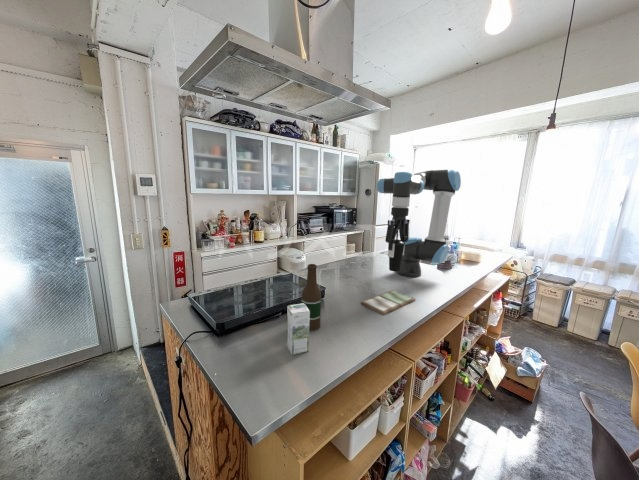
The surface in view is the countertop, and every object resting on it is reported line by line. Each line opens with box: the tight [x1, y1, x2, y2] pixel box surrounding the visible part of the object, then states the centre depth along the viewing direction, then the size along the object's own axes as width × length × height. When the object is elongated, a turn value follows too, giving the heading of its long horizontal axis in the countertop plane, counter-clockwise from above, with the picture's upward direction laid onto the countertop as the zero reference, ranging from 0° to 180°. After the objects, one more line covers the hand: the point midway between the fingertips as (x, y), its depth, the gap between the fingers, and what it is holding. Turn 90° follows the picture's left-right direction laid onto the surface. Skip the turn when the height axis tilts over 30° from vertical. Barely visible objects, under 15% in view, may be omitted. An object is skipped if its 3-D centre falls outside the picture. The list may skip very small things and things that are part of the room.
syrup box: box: [286, 303, 310, 356], centre depth 80 cm, size 6×6×14 cm
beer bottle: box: [300, 263, 322, 331], centre depth 93 cm, size 8×8×24 cm
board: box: [360, 289, 416, 316], centre depth 118 cm, size 24×13×1 cm, turn 129°
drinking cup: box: [388, 230, 405, 273], centre depth 118 cm, size 8×8×20 cm
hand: (395, 255), depth 119 cm, fingers closed on drinking cup, 7 cm apart
